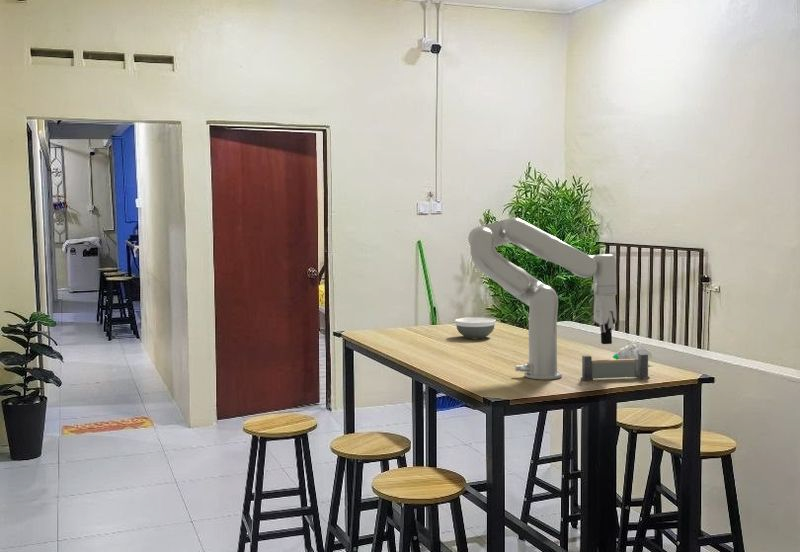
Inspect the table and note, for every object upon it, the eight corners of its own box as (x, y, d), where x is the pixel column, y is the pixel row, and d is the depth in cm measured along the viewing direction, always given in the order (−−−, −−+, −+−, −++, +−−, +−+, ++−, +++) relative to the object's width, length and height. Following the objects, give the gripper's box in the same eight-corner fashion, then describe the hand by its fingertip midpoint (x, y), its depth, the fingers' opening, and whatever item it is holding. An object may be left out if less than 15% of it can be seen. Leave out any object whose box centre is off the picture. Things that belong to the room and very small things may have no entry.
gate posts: (583, 380, 265) (583, 357, 264) (580, 379, 268) (580, 355, 267) (649, 378, 267) (649, 354, 266) (645, 376, 270) (645, 353, 269)
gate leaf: (592, 378, 266) (592, 361, 265) (591, 377, 267) (591, 360, 267) (639, 377, 267) (639, 359, 267) (637, 376, 269) (637, 358, 268)
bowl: (462, 341, 352) (462, 323, 351) (449, 335, 370) (449, 318, 369) (502, 339, 356) (501, 321, 355) (487, 333, 374) (487, 316, 374)
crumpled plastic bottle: (620, 352, 299) (637, 336, 294) (635, 371, 296) (653, 355, 291) (605, 357, 290) (623, 341, 285) (621, 377, 287) (640, 361, 282)
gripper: (587, 289, 278) (588, 341, 279) (602, 293, 263) (603, 347, 265) (607, 288, 279) (609, 339, 280) (623, 291, 264) (625, 346, 265)
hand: (606, 343), depth 272 cm, fingers closed
